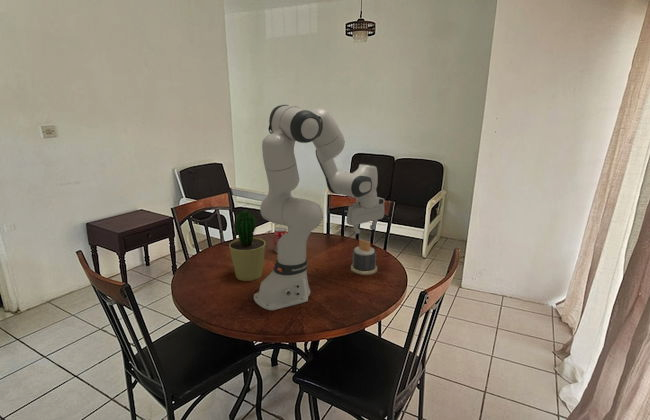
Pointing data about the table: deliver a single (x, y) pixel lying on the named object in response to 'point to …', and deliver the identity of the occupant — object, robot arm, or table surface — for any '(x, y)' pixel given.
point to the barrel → (364, 264)
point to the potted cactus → (247, 249)
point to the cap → (364, 248)
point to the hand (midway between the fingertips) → (365, 231)
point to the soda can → (278, 236)
